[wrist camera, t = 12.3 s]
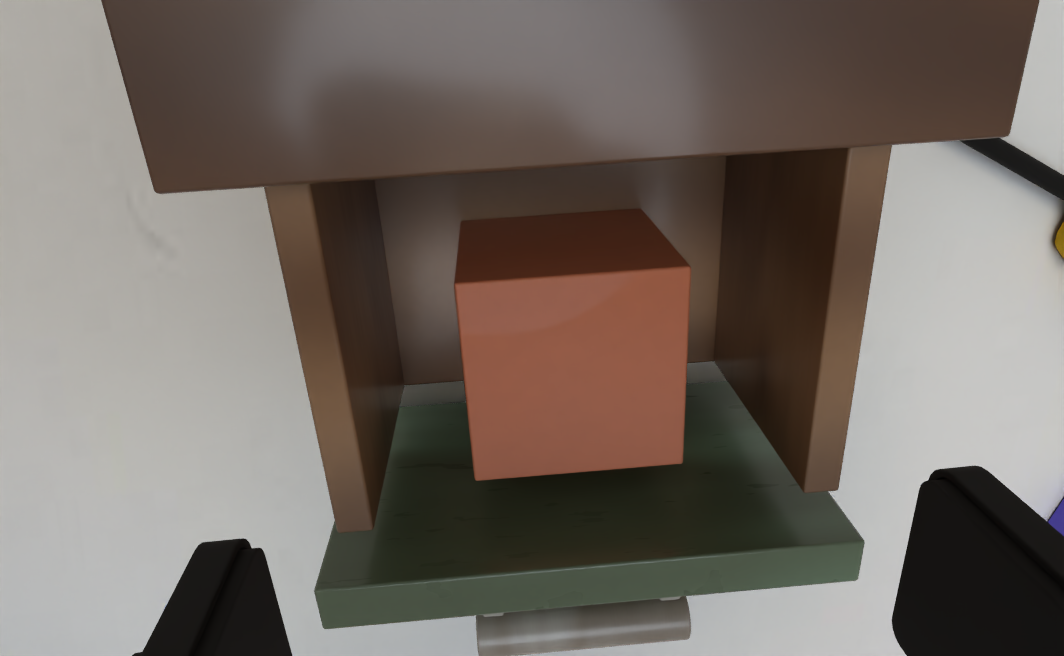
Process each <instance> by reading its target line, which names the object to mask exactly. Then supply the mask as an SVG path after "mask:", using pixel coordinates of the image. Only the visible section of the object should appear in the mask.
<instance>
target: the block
mask: <svg viewBox="0 0 1064 656" xmlns="http://www.w3.org/2000/svg"><path fill="white" fill-rule="evenodd" d="M690 288H691V266H690V265H689V264H688V263H687V262H686V260H685V259H684V258H683V257H682V256H681V255H680V253H679V252H678V251H677V250H676V249H675V247H674V246H673V245H672V244H671V243H670V242H669V240H668V239H667V238H666V237H665V236H664V235H663V233H662V232H661V231H660V230H659V229H658V228H657V226H656V225H655V224H654V223H653V222H652V220H651V219H650V218H649V217H648V216H647V215H646V213H645V212H644V211H643V210H642V209H640V208H639V209H625V210H610V211H596V212H581V213H567V214H553V215H538V216H524V217H509V218H495V219H480V220H466V221H461V223H460V232H459V242H458V251H457V261H456V270H455V279H454V292H455V302H456V311H457V320H458V330H459V339H460V349H461V358H462V368H463V377H464V387H465V396H466V405H467V415H468V424H469V434H470V443H471V453H472V462H473V472H474V479H475V480H476V481H481V480H493V479H505V478H517V477H529V476H541V475H553V474H565V473H577V472H589V471H601V470H613V469H624V468H636V467H648V466H660V465H672V464H681V463H682V462H683V450H684V427H685V404H686V380H687V357H688V334H689V311H690Z"/></svg>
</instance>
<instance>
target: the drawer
mask: <svg viewBox="0 0 1064 656" xmlns="http://www.w3.org/2000/svg"><path fill="white" fill-rule="evenodd" d="M891 147H892V145H883V146H868V147H853V148H838V149H823V150H808V151H793V152H778V153H763V154H749V155H734V156H719V157H704V158H689V159H674V160H659V161H644V162H629V163H614V164H599V165H585V166H570V167H555V168H540V169H525V170H510V171H495V172H480V173H465V174H450V175H435V176H420V177H406V178H391V179H376V180H361V181H346V182H331V183H316V184H301V185H286V186H271V187H264V189H265V194H266V199H267V203H268V208H269V213H270V217H271V222H272V227H273V232H274V236H275V241H276V246H277V250H278V255H279V260H280V265H281V269H282V274H283V279H284V283H285V288H286V293H287V297H288V302H289V307H290V312H291V316H292V321H293V326H294V330H295V335H296V340H297V344H298V349H299V354H300V359H301V363H302V368H303V373H304V377H305V382H306V387H307V392H308V396H309V401H310V406H311V410H312V415H313V420H314V424H315V429H316V434H317V439H318V443H319V448H320V453H321V457H322V462H323V467H324V471H325V476H326V481H327V486H328V490H329V495H330V500H331V504H332V509H333V514H334V519H335V522H334V525H333V528H332V532H331V535H330V539H329V542H328V545H327V549H326V552H325V556H324V559H323V562H322V566H321V569H320V573H319V576H318V579H317V583H316V586H315V590H314V592H315V596H316V601H317V605H318V609H319V613H320V617H321V621H322V626H323V628H324V629H333V628H343V627H354V626H365V625H376V624H387V623H398V622H409V621H420V620H431V619H442V618H452V617H463V616H474V615H476V631H477V645H478V654H479V656H516V655H526V654H537V653H548V652H558V651H569V650H580V649H590V648H601V647H611V646H622V645H633V644H643V643H654V642H665V641H675V640H686V639H689V637H690V632H691V622H690V613H689V607H688V602H687V598H686V596H692V595H703V594H714V593H725V592H736V591H747V590H758V589H769V588H780V587H791V586H801V585H812V584H823V583H834V582H845V581H856V580H857V579H858V576H859V570H860V565H861V559H862V554H863V548H864V540H863V538H862V537H861V536H860V534H859V533H858V532H857V530H856V529H855V527H854V526H853V525H852V523H851V522H850V521H849V519H848V518H847V517H846V515H845V514H844V512H843V511H842V510H841V508H840V507H839V506H838V504H837V503H836V502H835V500H834V499H833V498H832V496H831V495H830V493H829V492H828V491H836V490H838V487H839V481H840V475H841V468H842V462H843V455H844V449H845V442H846V436H847V430H848V423H849V417H850V410H851V404H852V397H853V391H854V385H855V378H856V372H857V365H858V359H859V352H860V346H861V340H862V333H863V327H864V320H865V314H866V308H867V301H868V295H869V288H870V282H871V275H872V269H873V263H874V256H875V250H876V243H877V237H878V230H879V224H880V218H881V211H882V205H883V198H884V192H885V185H886V179H887V173H888V166H889V160H890V153H891ZM639 208H640V209H642V210H643V211H644V212H645V213H646V215H647V216H648V217H649V218H650V219H651V220H652V222H653V223H654V224H655V225H656V226H657V228H658V229H659V230H660V231H661V232H662V233H663V235H664V236H665V237H666V238H667V239H668V240H669V242H670V243H671V244H672V245H673V246H674V247H675V249H676V250H677V251H678V252H679V253H680V255H681V256H682V257H683V258H684V259H685V260H686V262H687V263H688V264H689V265H690V266H691V288H690V311H689V334H688V357H687V363H695V362H708V361H714V362H715V363H716V365H717V366H718V368H719V369H720V371H721V372H722V374H723V375H724V377H725V378H726V380H727V381H721V382H708V383H696V384H686V404H685V427H684V450H683V462H682V463H681V464H672V465H660V466H648V467H636V468H624V469H613V470H601V471H589V472H577V473H565V474H553V475H541V476H529V477H517V478H505V479H493V480H481V481H476V480H475V479H474V472H473V462H472V453H471V443H470V434H469V424H468V415H467V405H466V402H458V403H445V404H433V405H420V406H408V407H400V403H401V398H402V394H403V389H404V385H415V384H428V383H441V382H453V381H464V377H463V368H462V358H461V349H460V339H459V330H458V320H457V311H456V302H455V292H454V279H455V270H456V261H457V251H458V242H459V232H460V223H461V221H466V220H480V219H495V218H509V217H524V216H538V215H553V214H567V213H581V212H596V211H610V210H625V209H639Z"/></svg>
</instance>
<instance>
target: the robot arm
mask: <svg viewBox="0 0 1064 656" xmlns="http://www.w3.org/2000/svg"><path fill="white" fill-rule="evenodd" d="M892 626H893V631H894V634H895V637H896V639H897V641H898V643H899V645H900V647H901V648H902V649H903V651H904V652H905V654H906V655H907V656H1064V536H1063V535H1062V534H1061V533H1059V532H1058V531H1057V530H1056V529H1055V528H1054V527H1052V526H1051V525H1050V524H1049V523H1048V522H1047V521H1045V520H1044V519H1043V518H1042V517H1041V516H1040V515H1038V514H1037V513H1036V512H1035V511H1034V510H1033V509H1031V508H1030V507H1029V506H1028V505H1027V504H1026V503H1024V502H1023V501H1022V500H1021V499H1020V498H1019V497H1017V496H1016V495H1015V494H1014V493H1013V492H1012V491H1011V490H1009V489H1008V488H1007V487H1006V486H1005V485H1004V484H1002V483H1001V482H1000V481H999V480H998V479H997V478H995V477H994V476H993V475H992V474H991V473H990V472H988V471H987V470H985V469H984V468H982V467H979V466H967V467H957V468H947V469H939V470H935V471H934V472H933V473H932V474H931V475H930V478H929V480H928V481H925V482H923V483H922V485H921V487H920V489H919V494H918V498H917V503H916V508H915V512H914V517H913V522H912V527H911V531H910V536H909V541H908V545H907V550H906V555H905V559H904V564H903V569H902V573H901V578H900V583H899V588H898V592H897V597H896V602H895V606H894V611H893V616H892ZM132 656H292V653H291V650H290V646H289V642H288V638H287V635H286V631H285V627H284V624H283V620H282V616H281V613H280V609H279V605H278V601H277V598H276V594H275V590H274V587H273V583H272V579H271V576H270V572H269V568H268V564H267V561H266V557H265V554H264V551H263V550H262V549H261V548H253V549H252V548H251V546H250V543H249V542H248V541H247V540H246V539H233V540H223V541H213V542H203V543H201V544H200V545H198V547H197V548H196V550H195V551H194V553H193V555H192V557H191V559H190V561H189V563H188V565H187V567H186V569H185V571H184V573H183V574H182V576H181V578H180V580H179V582H178V584H177V586H176V588H175V590H174V592H173V594H172V596H171V598H170V600H169V602H168V604H167V606H166V607H165V609H164V611H163V613H162V615H161V617H160V619H159V621H158V623H157V625H156V627H155V629H154V631H153V633H152V635H151V637H150V638H149V640H148V642H147V644H146V646H145V648H144V650H143V652H140V653H135V654H134V655H132Z"/></svg>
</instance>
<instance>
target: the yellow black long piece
mask: <svg viewBox="0 0 1064 656" xmlns="http://www.w3.org/2000/svg"><path fill="white" fill-rule="evenodd" d="M959 141H961V142H963V143H964V144H966V145H968V146H970V147H971V148H973V149H975V150H977V151H978V152H980V153H982V154H984V155H985V156H987V157H989V158H991V159H992V160H994V161H996V162H998V163H999V164H1001V165H1003V166H1005V167H1006V168H1008V169H1010V170H1012V171H1013V172H1015V173H1017V174H1019V175H1020V176H1022V177H1024V178H1025V179H1027V180H1029V181H1031V182H1032V183H1034V184H1036V185H1038V186H1039V187H1041V188H1043V189H1045V190H1046V191H1048V192H1050V193H1052V194H1053V195H1055V196H1057V197H1059V198H1060V199H1062V200H1064V175H1062V174H1060V173H1059V172H1057V171H1055V170H1053V169H1052V168H1050V167H1048V166H1047V165H1045V164H1043V163H1042V162H1040V161H1038V160H1036V159H1035V158H1033V157H1031V156H1030V155H1028V154H1026V153H1024V152H1023V151H1021V150H1019V149H1018V148H1016V147H1014V146H1012V145H1011V144H1009V143H1007V142H1006V141H1004V140H1002V139H1001V138H987V139H972V140H959ZM1055 245H1056V248H1057V250H1058V251H1059V253H1060V254H1061V256H1062V257H1063V258H1064V222H1063V223H1062V225H1061V227H1060V228H1059V230H1058V232H1057V235H1056V239H1055Z"/></svg>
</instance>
